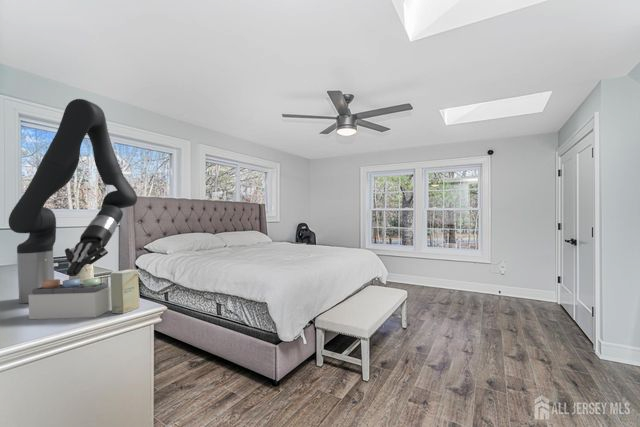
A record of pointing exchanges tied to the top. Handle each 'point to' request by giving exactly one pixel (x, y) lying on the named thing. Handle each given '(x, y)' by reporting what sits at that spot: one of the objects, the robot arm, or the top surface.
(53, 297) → the button console
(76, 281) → the slate blue button
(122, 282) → the skincare box
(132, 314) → the top surface
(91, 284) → the sage button
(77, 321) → the top surface
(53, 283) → the terracotta button
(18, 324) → the top surface
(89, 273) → the aerosol can
